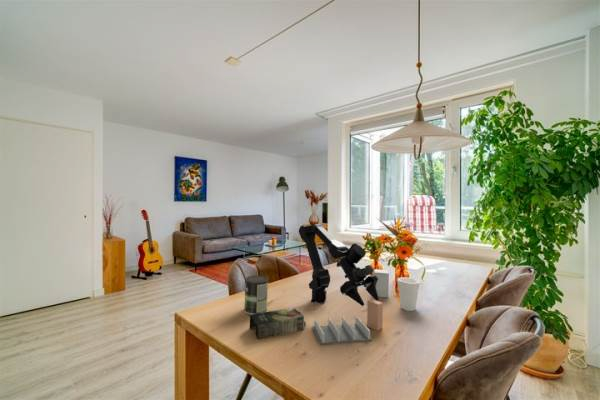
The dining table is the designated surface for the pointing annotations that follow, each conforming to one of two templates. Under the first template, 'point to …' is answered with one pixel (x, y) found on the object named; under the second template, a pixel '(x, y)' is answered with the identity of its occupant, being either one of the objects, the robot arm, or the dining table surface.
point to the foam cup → (408, 293)
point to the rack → (341, 332)
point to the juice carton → (277, 322)
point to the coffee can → (256, 294)
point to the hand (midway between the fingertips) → (370, 303)
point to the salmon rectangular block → (374, 314)
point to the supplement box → (382, 283)
